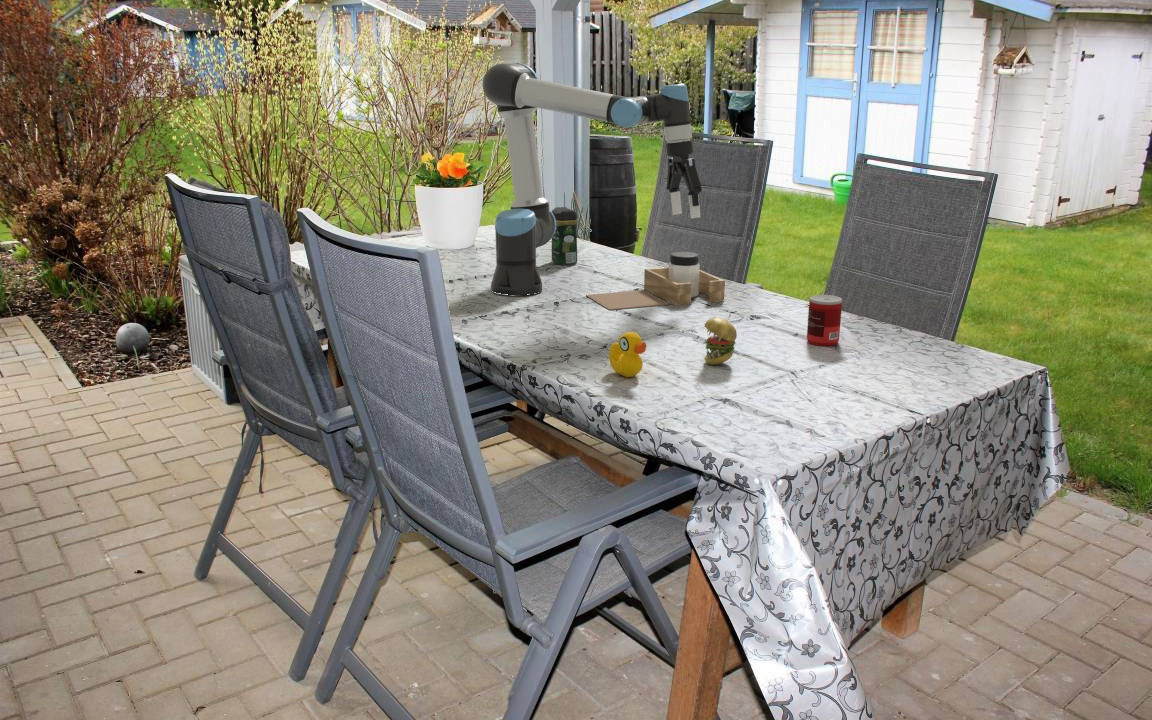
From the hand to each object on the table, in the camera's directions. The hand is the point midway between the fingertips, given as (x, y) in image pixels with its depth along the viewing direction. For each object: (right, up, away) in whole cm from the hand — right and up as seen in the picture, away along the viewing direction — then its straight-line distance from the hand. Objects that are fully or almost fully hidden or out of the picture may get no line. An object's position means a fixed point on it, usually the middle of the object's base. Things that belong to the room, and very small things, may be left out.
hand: (686, 216), depth 286 cm
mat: (-17, -24, -2) cm, 30 cm away
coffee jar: (-36, -9, +48) cm, 61 cm away
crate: (-1, -22, +4) cm, 23 cm away
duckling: (-21, -45, -69) cm, 85 cm away
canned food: (+28, -37, -43) cm, 64 cm away
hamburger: (+1, -42, -60) cm, 74 cm away
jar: (-1, -23, +4) cm, 23 cm away
